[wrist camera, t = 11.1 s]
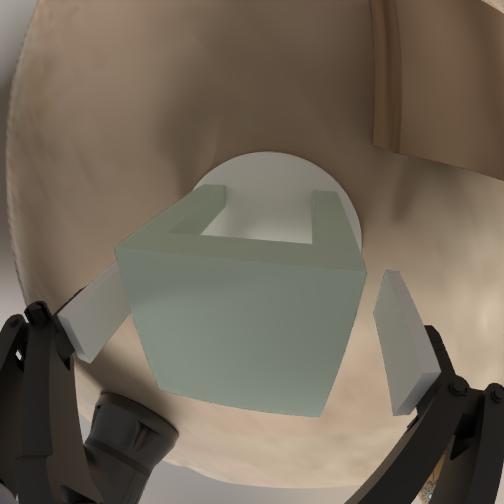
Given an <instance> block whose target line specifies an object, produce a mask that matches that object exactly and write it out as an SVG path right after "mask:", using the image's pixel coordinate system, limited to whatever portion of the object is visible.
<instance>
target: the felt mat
mask: <svg viewBox="0 0 504 504" xmlns="http://www.w3.org/2000/svg"><path fill="white" fill-rule="evenodd" d="M203 184H220V185H225V200H226V207H225V208H224V209H223V210H222V211H221V212H220V213H219V215H218V216H217V217H216V218H215V219H214V220H213V221H212V222H211V223H210V224H209V226H208V227H207V228H206V229H205V230H204V231H203V232H202V233H201V234H200V235H209V236H222V237H234V238H247V239H259V240H271V241H283V242H294V243H305V244H312V218H311V210H312V197H313V190H322V191H332V192H337V193H338V196H339V198H340V201H341V203H342V205H343V208H344V210H345V213H346V215H347V218H348V220H349V223H350V225H351V228H352V231H353V233H354V236H355V239H356V241H357V244H358V247H359V250H360V252H361V248H362V235H361V228H360V223H359V219H358V216H357V213H356V211H355V208H354V206H353V205H352V203H351V201H350V199H349V197H348V195H347V194H346V192H345V191H344V189H343V188H342V187H341V185H340V184H339V183H338V182H337V181H336V180H335V179H334V178H333V177H332V176H331V175H330V174H328V173H327V172H326V171H325V170H323V169H322V168H321V167H319V166H317V165H316V164H314V163H312V162H310V161H308V160H306V159H303V158H301V157H298V156H295V155H291V154H287V153H281V152H272V151H268V152H254V153H248V154H244V155H241V156H238V157H235V158H232V159H230V160H228V161H226V162H224V163H222V164H220V165H218V166H217V167H215V168H214V169H213V170H211V171H210V172H208V173H207V174H206V175H205V176H204V177H203V178H202V179H201V180H200V181H199V182H198V184H197V185H196V186H195V187H194V189H193V190H192V191H194V190H195V189H197V188H198V187H200V186H201V185H203Z"/></svg>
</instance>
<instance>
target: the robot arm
mask: <svg viewBox="0 0 504 504" xmlns="http://www.w3.org/2000/svg"><path fill="white" fill-rule="evenodd" d="M24 313H25V315H26V317H27V319H28V321H29V323H26V321H25V319H24V317H23V316H22V315H21V314H16V315H13V316H11V317H10V318H9V319H8V320H7V321H6V322H5V324H4V326H3V328H2V330H1V332H0V504H138V503H139V500H140V498H141V496H142V493H143V491H144V489H145V486H146V484H147V481H148V479H149V477H150V474H151V472H152V470H153V468H154V467H155V466H156V465H157V464H158V463H159V462H160V461H161V460H162V459H163V458H164V457H165V456H166V455H167V454H168V453H169V452H170V451H171V450H172V449H173V447H174V445H175V443H176V441H177V438H178V435H177V432H176V431H175V430H174V429H173V427H172V426H171V425H169V424H168V423H167V422H166V421H165V420H163V419H162V418H160V417H159V416H158V415H156V414H155V413H153V412H151V411H150V410H148V409H146V408H145V407H143V406H141V405H139V404H137V403H135V402H133V401H131V400H129V399H127V398H124V397H121V396H119V395H115V394H111V393H103V394H102V395H101V396H100V398H99V399H98V401H97V403H96V405H95V410H94V415H93V420H92V425H91V431H90V434H89V436H88V438H87V440H86V441H85V443H84V444H83V440H82V435H81V429H80V423H79V416H78V408H77V399H76V389H75V375H74V359H73V356H72V355H71V354H72V353H73V352H74V351H75V352H76V354H77V355H78V357H79V359H81V360H83V361H85V362H87V363H90V364H91V362H92V361H93V360H94V358H95V357H96V356H97V354H98V353H99V352H100V350H101V349H102V348H103V347H104V345H105V344H106V343H107V341H108V340H109V339H110V338H111V336H112V335H113V334H114V332H115V331H116V330H117V329H118V327H119V326H120V325H121V324H122V322H123V321H124V320H125V319H126V317H127V316H128V315H129V314H130V313H131V310H130V307H129V304H128V300H127V297H126V293H125V290H124V286H123V283H122V279H121V275H120V271H119V267H118V263H117V260H116V261H115V262H113V263H112V264H111V265H110V266H109V267H108V268H106V269H105V270H104V271H103V272H102V273H101V274H100V275H99V276H97V277H96V278H95V279H94V280H93V281H92V282H91V283H90V284H89V285H87V286H86V287H84V288H82V289H80V290H79V291H78V292H77V293H76V294H75V295H74V296H73V297H71V298H70V299H69V301H67V302H66V303H65V304H64V305H63V306H62V307H61V308H60V309H59V310H58V311H57V312H56V313H55V314H54V315H53V316H52V315H51V313H50V311H49V309H48V307H47V304H46V303H45V302H44V301H36V302H34V303H32V304H30V305H29V306H28V307H27V308H26V309H25V311H24ZM373 315H374V319H375V323H376V327H377V331H378V336H379V340H380V344H381V349H382V354H383V359H384V364H385V369H386V374H387V380H388V385H389V391H390V398H391V404H392V411H393V416H398V415H410V414H411V412H412V411H413V410H414V409H415V407H416V409H417V414H418V415H417V416H416V417H415V418H414V419H413V420H412V422H411V423H410V424H409V425H408V426H407V428H408V429H407V430H406V432H405V433H404V434H403V436H402V437H401V439H400V440H399V441H398V443H397V444H396V445H395V447H394V448H393V449H392V451H391V452H390V453H389V455H388V456H387V457H386V458H385V460H384V461H383V462H382V463H381V465H380V466H379V467H378V468H377V469H376V471H375V472H374V473H373V474H372V475H371V476H370V477H369V479H368V480H367V481H366V482H365V483H364V484H363V485H362V486H361V487H360V489H358V491H357V492H355V494H354V495H353V496H352V497H351V498H350V499H349V500H348V501H346V502H345V504H411V503H412V502H413V500H414V499H415V498H416V496H417V494H418V493H419V492H420V490H421V489H422V487H423V486H424V484H425V483H426V481H427V480H428V478H429V477H430V475H431V474H432V472H433V470H434V469H435V467H436V465H437V464H438V462H439V460H440V458H441V457H442V455H443V453H444V451H445V449H446V447H447V446H448V448H447V451H446V455H445V458H444V462H443V465H442V468H441V471H440V474H439V477H438V480H437V483H436V486H435V488H434V491H433V494H432V496H431V499H430V501H429V503H428V504H494V503H495V500H496V496H497V492H498V488H499V484H500V479H501V474H502V468H503V463H504V387H503V386H502V385H500V384H498V383H491V384H489V385H488V387H487V388H486V389H485V390H484V391H483V390H477V389H472V388H470V386H469V384H468V383H467V381H466V380H465V379H464V378H462V377H460V376H458V375H456V374H455V371H454V369H453V366H452V363H451V361H450V358H449V356H448V353H447V351H446V350H445V349H446V348H445V346H444V343H443V341H442V339H441V336H440V334H439V333H438V331H437V330H436V329H435V328H434V327H433V326H432V325H423V322H422V320H421V318H420V315H419V313H418V311H417V309H416V306H415V304H414V302H413V300H412V298H411V295H410V293H409V291H408V289H407V287H406V285H405V283H404V281H403V279H402V277H401V275H400V273H399V271H391V270H385V274H384V277H383V281H382V285H381V288H380V292H379V295H378V298H377V302H376V305H375V308H374V311H373ZM17 350H18V352H19V353H20V355H21V356H22V357H21V359H20V360H19V359H18V357H17V356H16V352H17Z"/></svg>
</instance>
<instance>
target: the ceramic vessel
mask: <svg viewBox="0 0 504 504" xmlns="http://www.w3.org/2000/svg"><path fill="white" fill-rule="evenodd" d="M447 448H448V447H446V449H445V451H444V453H443V455H442V457H441V458H440V460H439V462H438V464H437V465H436V467H435V469H434V470H433V472H432V474H431V475H430V477H429V478H428V480H427V481H426V483H425V484H424V486H423V487H422V489H421V490H420V492H419V493H418V495H419V498H420V500H421V502H422V504H428V503H429V501H430V499H431V496H432V494H433V491H434V488H435V486H436V483H437V480H438V477H439V474H440V471H441V468H442V465H443V462H444V458H445V455H446V451H447Z"/></svg>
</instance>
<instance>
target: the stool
mask: <svg viewBox="0 0 504 504" xmlns="http://www.w3.org/2000/svg"><path fill="white" fill-rule="evenodd" d="M225 207H226V200H225V185H220V184H203V185H201V186H200V187H198V188H197V189H195V190H194V191H192V192H190V193H189V194H187V195H186V196H184V197H183V198H181V199H180V200H179V201H177V202H176V203H174V204H173V205H171V206H170V207H168V208H167V209H165V210H164V211H163V212H161V213H160V214H158V215H157V216H155V217H154V218H153V219H151V220H150V221H148V222H147V223H146V224H144V225H143V226H142V227H140V228H139V229H138V230H136V231H135V232H133V233H132V234H131V235H129V236H128V237H127V238H126V239H124V240H123V241H122V242H120V243H119V244H118V245H116V246H115V247H114V250H115V254H116V259H117V263H118V267H119V271H120V275H121V279H122V283H123V286H124V290H125V293H126V297H127V300H128V304H129V307H130V310H131V314H132V317H133V320H134V323H135V326H136V329H137V332H138V335H139V338H140V341H141V344H142V346H143V349H144V352H145V355H146V357H147V360H148V363H149V365H150V368H151V370H152V373H153V375H154V378H155V380H156V382H157V385H158V387H159V389H160V390H163V391H167V392H170V393H174V394H178V395H181V396H185V397H189V398H193V399H197V400H201V401H206V402H210V403H215V404H220V405H225V406H230V407H236V408H241V409H248V410H254V411H261V412H268V413H276V414H285V415H296V416H309V417H320V416H321V413H322V411H323V409H324V406H325V404H326V401H327V399H328V396H329V394H330V391H331V389H332V386H333V383H334V381H335V378H336V375H337V373H338V370H339V367H340V364H341V361H342V358H343V355H344V352H345V349H346V346H347V343H348V340H349V337H350V334H351V331H352V327H353V324H354V320H355V317H356V314H357V310H358V306H359V303H360V299H361V295H362V291H363V287H364V283H365V279H366V275H367V270H366V267H365V264H364V261H363V258H362V255H361V252H360V250H359V247H358V244H357V241H356V239H355V236H354V233H353V231H352V228H351V225H350V223H349V220H348V218H347V215H346V213H345V210H344V208H343V205H342V203H341V201H340V198H339V196H338V193H337V192H332V191H322V190H313V197H312V210H311V218H312V244H305V243H294V242H283V241H271V240H259V239H247V238H234V237H222V236H209V235H200V234H201V233H202V232H203V231H204V230H205V229H206V228H207V227H208V226H209V224H210V223H211V222H212V221H213V220H214V219H215V218H216V217H217V216H218V215H219V213H220V212H221V211H222V210H223V209H224V208H225Z"/></svg>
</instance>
